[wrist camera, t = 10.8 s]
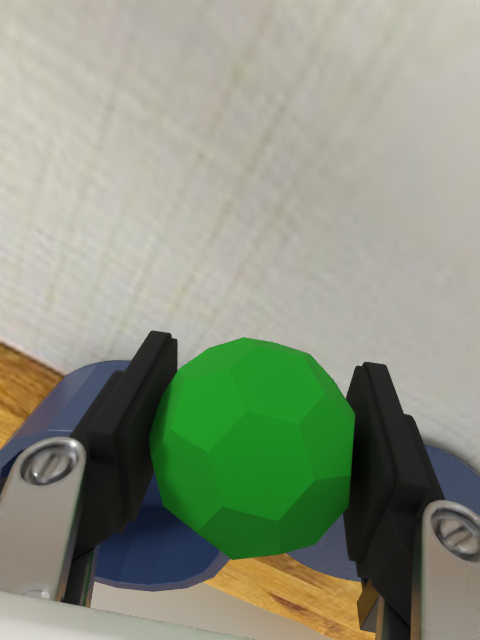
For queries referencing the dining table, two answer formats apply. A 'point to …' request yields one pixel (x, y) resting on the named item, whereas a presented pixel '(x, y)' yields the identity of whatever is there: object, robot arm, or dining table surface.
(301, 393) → the polyhedron
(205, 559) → the pot
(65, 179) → the dining table surface
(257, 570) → the dining table surface
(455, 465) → the lid
